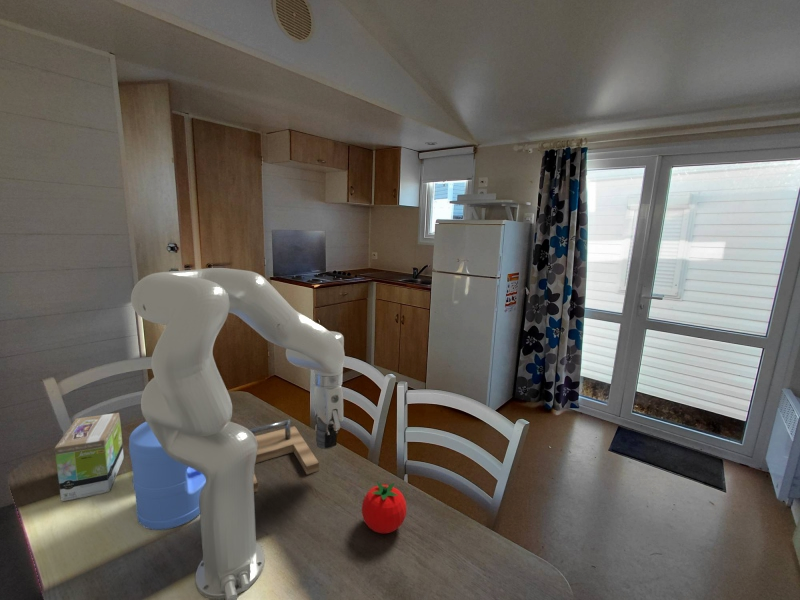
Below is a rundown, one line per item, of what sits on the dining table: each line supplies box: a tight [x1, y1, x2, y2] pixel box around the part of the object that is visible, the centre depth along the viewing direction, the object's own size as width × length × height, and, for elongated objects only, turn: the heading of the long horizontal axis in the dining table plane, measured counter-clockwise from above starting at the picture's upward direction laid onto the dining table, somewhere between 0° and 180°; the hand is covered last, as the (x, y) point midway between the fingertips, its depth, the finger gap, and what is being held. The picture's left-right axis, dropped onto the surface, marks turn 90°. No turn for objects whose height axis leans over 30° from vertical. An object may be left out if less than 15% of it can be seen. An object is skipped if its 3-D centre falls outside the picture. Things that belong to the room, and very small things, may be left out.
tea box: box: [54, 412, 125, 502], centre depth 96 cm, size 15×10×15 cm, turn 25°
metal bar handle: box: [248, 418, 292, 440], centre depth 110 cm, size 3×14×6 cm, turn 123°
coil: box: [315, 418, 335, 450], centre depth 101 cm, size 5×5×7 cm
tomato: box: [361, 481, 407, 534], centre depth 86 cm, size 10×10×10 cm
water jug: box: [128, 421, 206, 531], centre depth 87 cm, size 16×16×28 cm
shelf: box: [253, 425, 320, 493], centre depth 108 cm, size 22×20×2 cm
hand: (326, 440), depth 101 cm, fingers closed on coil, 5 cm apart
